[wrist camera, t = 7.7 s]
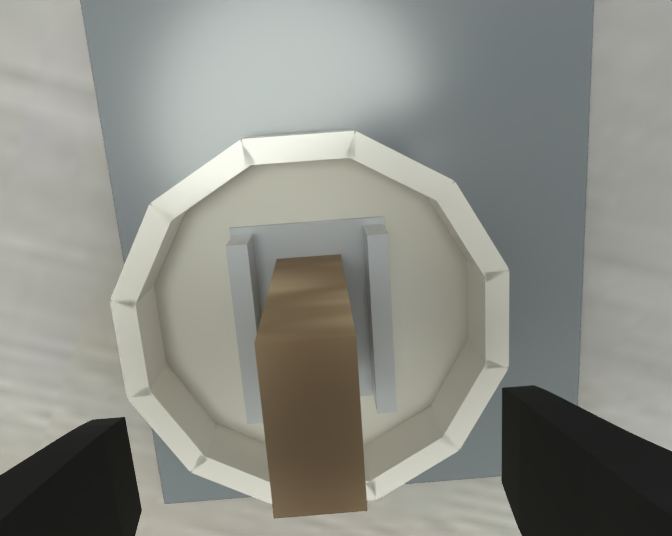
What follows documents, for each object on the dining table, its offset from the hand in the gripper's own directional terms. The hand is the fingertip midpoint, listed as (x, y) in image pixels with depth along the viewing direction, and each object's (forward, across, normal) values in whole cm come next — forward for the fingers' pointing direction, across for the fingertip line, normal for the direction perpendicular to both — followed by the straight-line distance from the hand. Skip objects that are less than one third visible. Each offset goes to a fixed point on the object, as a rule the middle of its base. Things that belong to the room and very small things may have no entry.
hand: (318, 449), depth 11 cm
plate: (+9, 0, 0) cm, 9 cm away
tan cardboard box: (+8, 0, 0) cm, 8 cm away
